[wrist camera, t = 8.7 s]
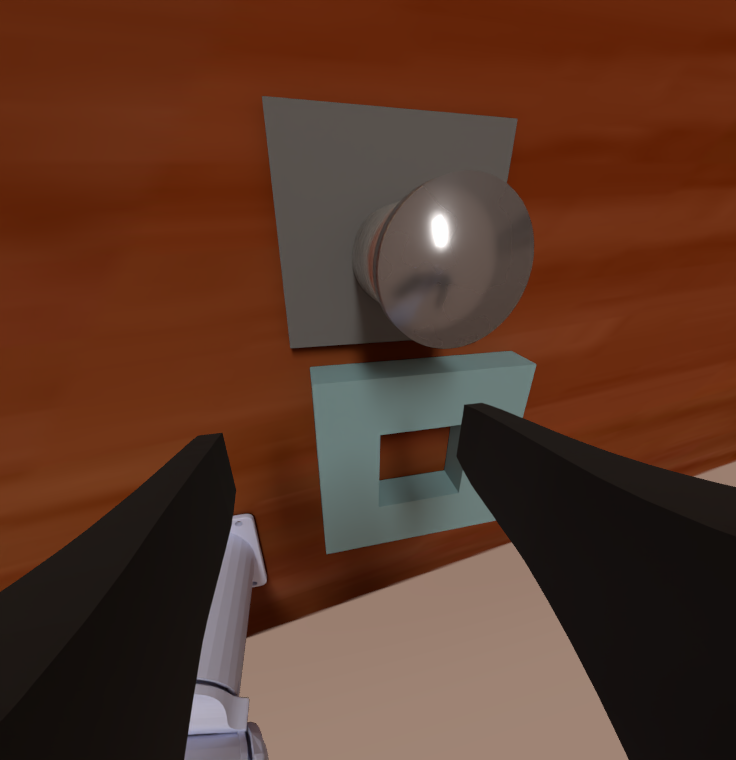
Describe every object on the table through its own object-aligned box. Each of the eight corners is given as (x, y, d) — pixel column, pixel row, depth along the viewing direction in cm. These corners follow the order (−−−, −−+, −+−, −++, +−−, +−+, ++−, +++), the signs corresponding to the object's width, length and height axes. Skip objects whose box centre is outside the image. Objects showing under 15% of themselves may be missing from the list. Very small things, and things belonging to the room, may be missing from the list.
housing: (323, 525, 25) (326, 554, 22) (309, 367, 19) (311, 384, 16) (479, 497, 27) (495, 520, 25) (511, 350, 21) (536, 364, 19)
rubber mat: (290, 344, 18) (290, 348, 17) (263, 101, 13) (261, 96, 13) (476, 332, 20) (481, 335, 20) (509, 122, 15) (517, 118, 15)
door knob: (348, 312, 17) (378, 355, 11) (343, 196, 15) (378, 167, 8) (441, 305, 18) (516, 342, 12) (450, 197, 16) (551, 171, 10)
